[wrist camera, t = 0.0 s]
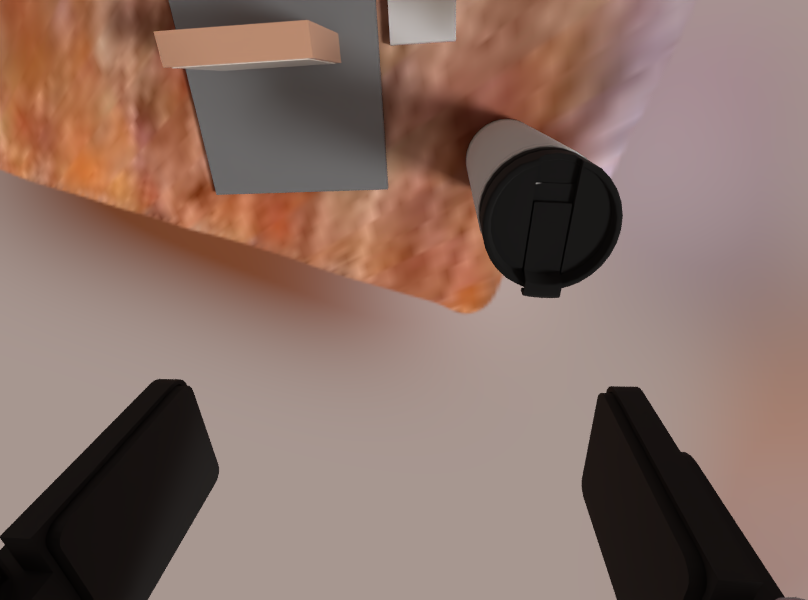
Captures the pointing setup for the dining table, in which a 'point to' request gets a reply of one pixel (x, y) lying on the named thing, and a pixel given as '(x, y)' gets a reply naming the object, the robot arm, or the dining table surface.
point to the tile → (249, 46)
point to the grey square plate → (292, 103)
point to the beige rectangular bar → (421, 21)
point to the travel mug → (541, 207)
